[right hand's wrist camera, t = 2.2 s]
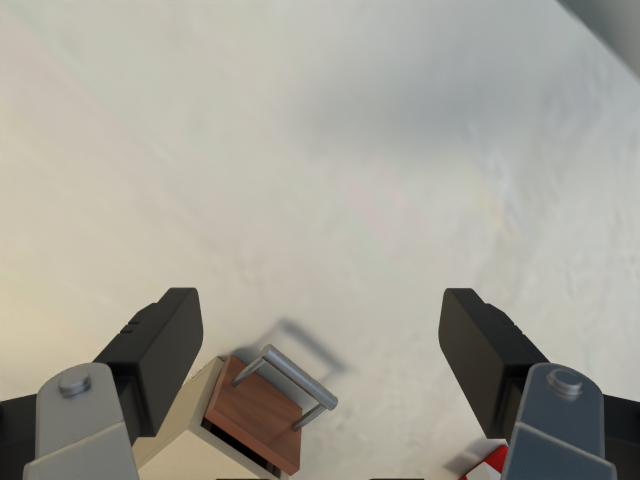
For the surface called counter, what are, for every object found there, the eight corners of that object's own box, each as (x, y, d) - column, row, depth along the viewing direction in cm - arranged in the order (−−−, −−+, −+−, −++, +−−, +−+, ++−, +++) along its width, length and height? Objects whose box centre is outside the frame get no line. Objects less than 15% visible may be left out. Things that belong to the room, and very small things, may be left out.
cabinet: (216, 356, 36) (186, 429, 27) (293, 414, 39) (287, 496, 30) (126, 436, 39) (76, 521, 31) (202, 483, 42) (175, 573, 34)
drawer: (269, 321, 33) (258, 370, 27) (340, 379, 36) (345, 437, 29) (144, 431, 38) (109, 495, 32) (214, 475, 40) (195, 543, 34)
